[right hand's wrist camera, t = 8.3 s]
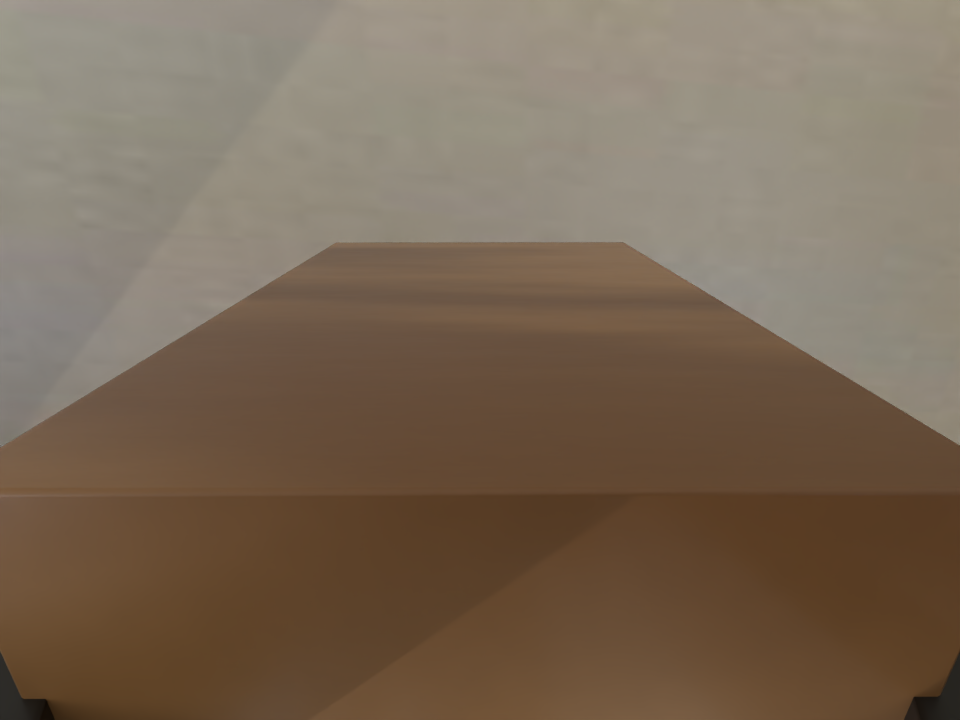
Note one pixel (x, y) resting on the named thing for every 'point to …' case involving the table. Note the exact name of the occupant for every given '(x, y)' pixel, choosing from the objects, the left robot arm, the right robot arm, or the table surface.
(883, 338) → the table surface
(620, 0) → the table surface
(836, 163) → the table surface
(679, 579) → the box
